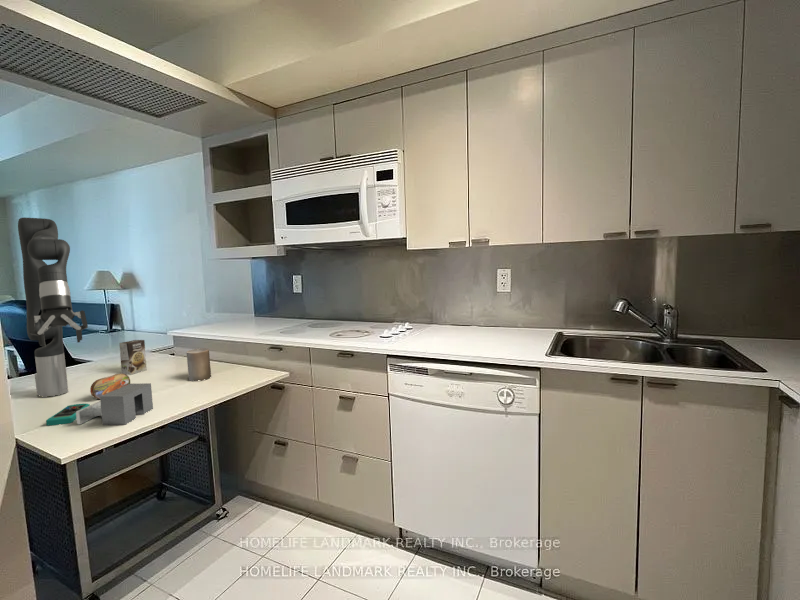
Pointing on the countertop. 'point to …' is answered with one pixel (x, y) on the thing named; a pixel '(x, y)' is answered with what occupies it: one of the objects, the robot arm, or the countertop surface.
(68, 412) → the digital multimeter
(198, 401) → the countertop surface
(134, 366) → the food box
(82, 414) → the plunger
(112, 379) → the tin
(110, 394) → the gray tunnel block
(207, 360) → the pillar candle
